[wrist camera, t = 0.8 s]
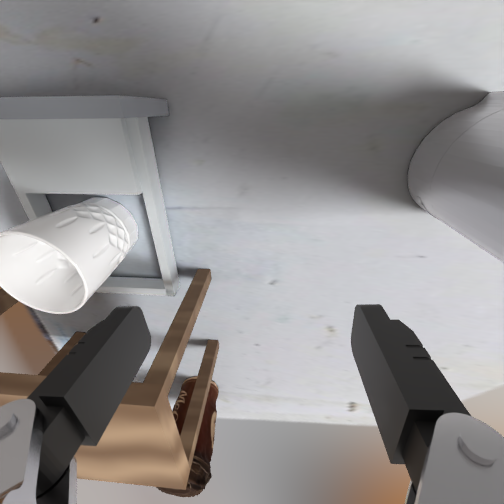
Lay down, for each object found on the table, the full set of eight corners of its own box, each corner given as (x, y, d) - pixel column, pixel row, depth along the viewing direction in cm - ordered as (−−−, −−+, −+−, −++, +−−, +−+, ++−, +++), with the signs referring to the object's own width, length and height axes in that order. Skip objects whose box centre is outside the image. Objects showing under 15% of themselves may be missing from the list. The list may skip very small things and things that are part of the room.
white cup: (61, 219, 28) (-33, 267, 20) (99, 175, 25) (8, 210, 17) (118, 266, 31) (57, 327, 22) (158, 231, 28) (106, 286, 19)
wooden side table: (40, 262, 32) (-143, 382, 18) (210, 269, 30) (154, 406, 16) (79, 338, 39) (-30, 466, 25) (219, 347, 37) (185, 489, 23)
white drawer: (-27, 102, 22) (-149, 99, 16) (166, 99, 21) (118, 95, 15) (61, 280, 32) (7, 323, 26) (195, 286, 31) (174, 333, 25)
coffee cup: (236, 387, 42) (222, 489, 30) (211, 407, 45) (191, 505, 34) (190, 365, 40) (157, 466, 28) (169, 388, 43) (132, 485, 32)
